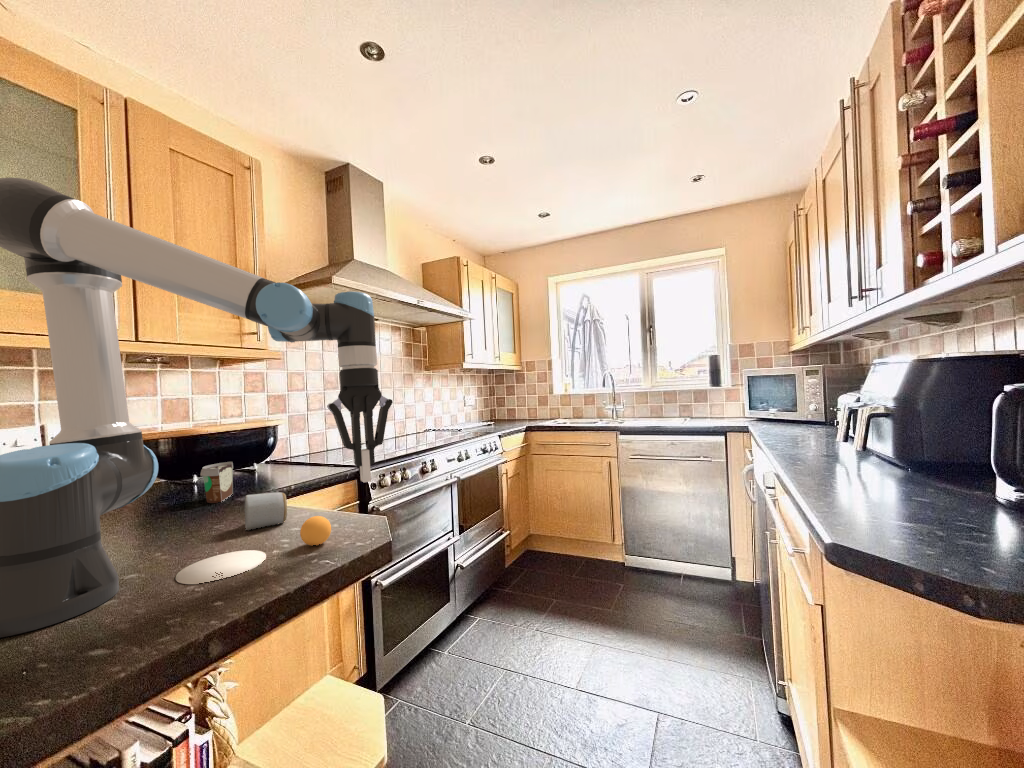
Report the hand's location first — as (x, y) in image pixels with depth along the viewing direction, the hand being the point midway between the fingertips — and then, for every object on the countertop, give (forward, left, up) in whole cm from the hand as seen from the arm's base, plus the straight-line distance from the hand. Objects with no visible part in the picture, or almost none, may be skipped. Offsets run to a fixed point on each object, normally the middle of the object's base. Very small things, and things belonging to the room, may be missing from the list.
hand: (365, 480), depth 86 cm
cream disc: (-25, 0, -11) cm, 27 cm away
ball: (-10, 0, -8) cm, 13 cm away
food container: (-29, +61, -11) cm, 68 cm away
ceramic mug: (-18, +23, -11) cm, 31 cm away
